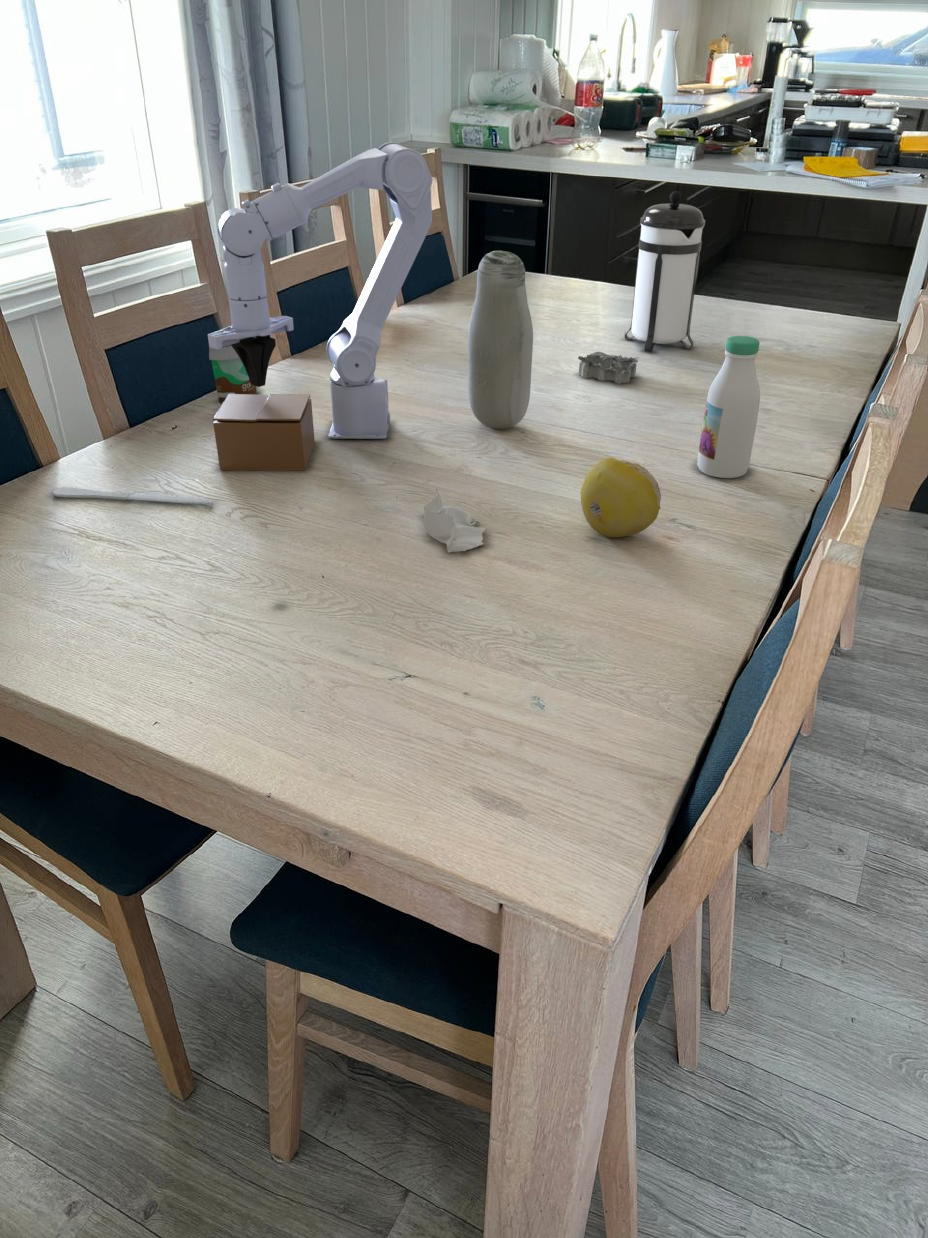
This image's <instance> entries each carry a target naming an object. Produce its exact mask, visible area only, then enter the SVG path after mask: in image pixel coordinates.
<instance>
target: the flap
mask: <svg viewBox="0 0 928 1238" xmlns="http://www.w3.org/2000/svg"><path fill="white" fill-rule="evenodd" d="M269 395H270V394H255V395H252V394H229V395H228V396H227V398H226V399H225V401H222V403H221V405H220V407H219V409H218V410H217V411H216V413H215V415H214V417H213V419H212V420H213V421H215V420H220V421H257V418H258V416H259V414H260V412H261V411H262V409H263V407H264V405H265V403H266V401H267V399H268V397H269Z"/></svg>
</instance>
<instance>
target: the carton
mask: <svg viewBox="0 0 928 1238" xmlns="http://www.w3.org/2000/svg"><path fill="white" fill-rule="evenodd" d="M268 395H269V397H268V399H267V401H266V403H265V405H264V407H263V409H262V411H261V412H260V414H259V416H258V418H257V421H252V422H240V421H220V420H213V431H214V437H215V444H216V445H215V446H216V451H217V459H218V463H219V464H218V466H219V470H220V471H306V469H307V466H308V463H309V461H310V458H311V455H312V452H313V450H314V447H315V444H316V442H315V440H316V439H315V429H314V417H313V416H314V415H313V403H312V398H311V394H309V393H307V394H305V393H304V394H301V393H295V394H294V393H293V394H292V393H270V394H268Z"/></svg>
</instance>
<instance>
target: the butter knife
mask: <svg viewBox="0 0 928 1238" xmlns="http://www.w3.org/2000/svg"><path fill="white" fill-rule="evenodd" d="M52 496H53V497H56V498H65V499H66V498H69V499H72V498H73V499H75V498H76V499H110V500H119V501H121V500H122V501H126V500H134V501H135V500H136V501H146V502H147V501H148V502H149V501H150V502H162V503H176V504H177V503H179V504H193V505H194V504H195V505H196V504H197V505H213V504H214V502H213V501H214V500H210V499H207V498H202V497H195V496H184V495H174V494H162V493H161V494H160V493H148V492H147V493H146V492H138V493H135V494H130V493H122V492H106V491H98V490H91V489H83V488H77V487H76V488H75V487H64V486H63V487H60V488H56V489H55V490H53V492H52Z"/></svg>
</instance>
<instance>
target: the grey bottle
mask: <svg viewBox="0 0 928 1238" xmlns="http://www.w3.org/2000/svg"><path fill="white" fill-rule="evenodd" d="M476 282H477V283H476V292H475V298H474V303H473V307H472V310H471V316H470V320H469V324H468V332H467V333H468V334H467V361H468V362H467V363H468V365H467V366H468V384H467V385H468V387H467V388H468V400H469V402H468V403H469V407H470V410H471V412H472V414H473V415H474V418H476V419H477V421H478V422H479V423H481V424H482V425H484V426H485V427H488V428H492V429H496V430H502V429H509V428H512V427H514V426H516V425H518V424H520V422H521V421H522V420H523V419H524V417H525V416H526V414H527V411H528V407H529V403H530V397H531V381H532V365H533V351H534V350H533V349H534V328H533V327H534V326H533V320H532V315H531V311H530V307H529V303H528V302H529V301H528V295H527V287H526V267H525V265H524V262H523V260H522V259H521V258H520V257H519V256H518V255H516V254H515V253H513V252H510V251H505V250H492V251H490V252H489V253H486V254H484V256H483V257H482V259H481V260H480V262H479V264H478V268H477V274H476Z"/></svg>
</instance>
